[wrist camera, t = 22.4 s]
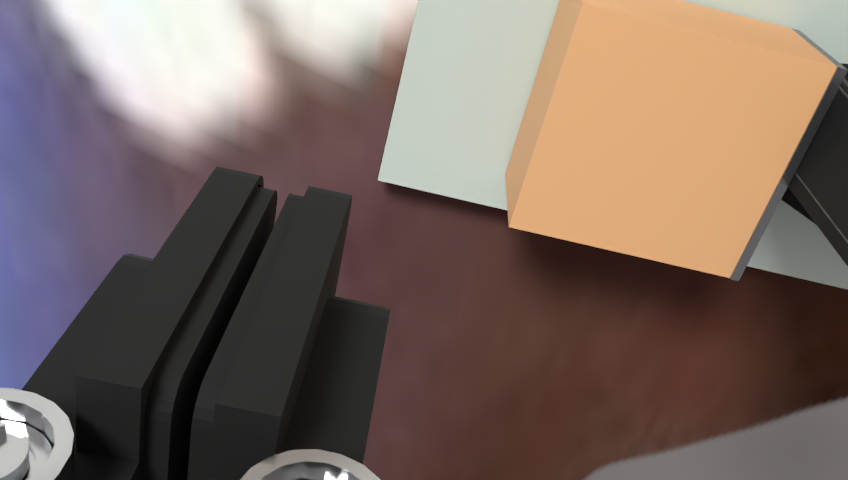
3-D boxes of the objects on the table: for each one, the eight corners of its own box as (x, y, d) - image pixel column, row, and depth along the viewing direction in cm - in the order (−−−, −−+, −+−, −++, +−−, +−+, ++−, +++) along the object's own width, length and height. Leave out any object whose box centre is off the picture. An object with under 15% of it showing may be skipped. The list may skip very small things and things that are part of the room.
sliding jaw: (799, 30, 36) (848, 69, 31) (708, 222, 41) (738, 281, 36) (568, -29, 35) (583, 3, 30) (504, 174, 40) (508, 228, 35)
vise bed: (1041, 37, 37) (1161, 94, 31) (884, 285, 44) (955, 374, 38) (445, -118, 35) (438, -92, 29) (380, 167, 42) (363, 240, 36)
